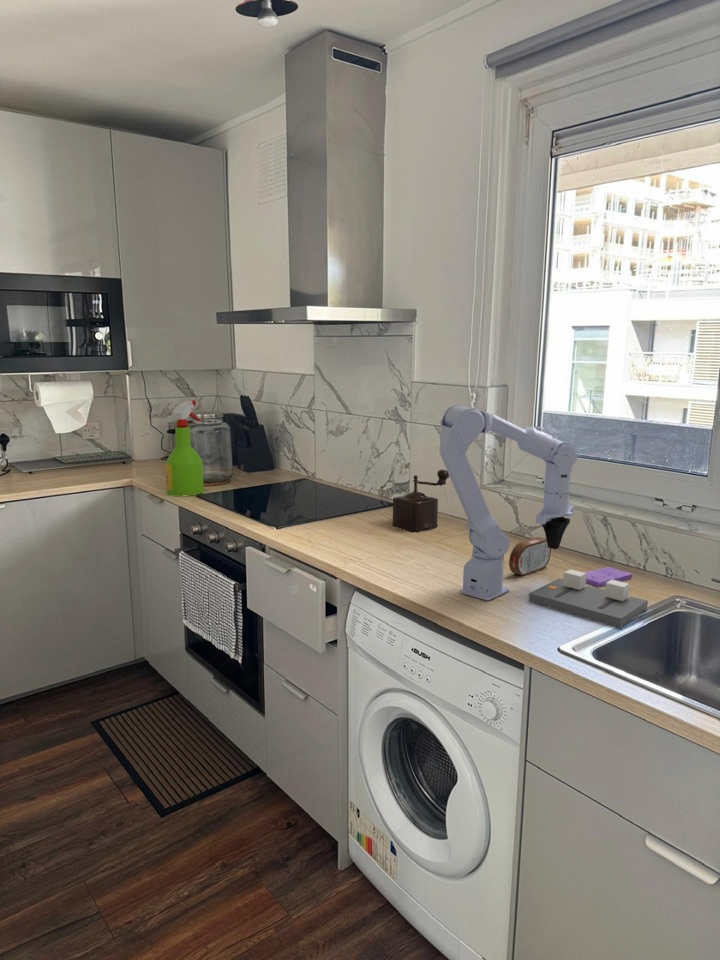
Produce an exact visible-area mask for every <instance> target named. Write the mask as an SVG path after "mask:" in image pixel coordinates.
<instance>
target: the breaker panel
mask: <svg viewBox="0 0 720 960" xmlns="http://www.w3.org/2000/svg"><path fill="white" fill-rule="evenodd" d="M563 579H564V578H561V577H560V578H556V579H555V580H553V581H551V582H549V583H547V584H544V585H543V586H541V587H539V588H537V589H535V590H533V591H531V592H529V593H528V602H529V603H532V604H536V605H538V606H543V607H547V608H550V609H554V610H557V611H560V612H563V613H568V614H572V615H575V616H578V617H581V618H584V619H588V620H591V621H595V622H600V623H602V624H606V625H610V626H612V625H614V626H613V627H616V628H619V629H621V628H622V627H623V626H625V625H626V624H628V623H629V622H631V621H633V620H634V619H636V617H638V616H640V615H641V614H642V613H644V612H645V611H647V610H648V603H649V601H648V600H646V599H643V598H638V597H635V596H631V595H629V596H628V598H627V599H625V600H624V601H620V600H616V599H612V598H608V597H605V589H604V588H603V589H602V588H601V587H597V586H593V585H589V584H588V585H587V584H586V586H585V587H584V588H582V589H580V590H578V589H574V588H570V587H566V586H563ZM646 609H647V610H646ZM643 611H644V612H643ZM639 614H640V615H639Z"/></svg>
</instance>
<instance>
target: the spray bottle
mask: <svg viewBox="0 0 720 960" xmlns="http://www.w3.org/2000/svg"><path fill="white" fill-rule="evenodd" d="M196 405H197V401H196V400H194V399H191V400H187V401H186V400H185V401H184V402H181V403H179V404H177V405H176V407H174V409H173V411H172V412H171V413H172V414H176V426H175V428H174V429H175V447H174V448H173V450H172V451H171V452H170V453H169V456H168V457H167V459H166V461H165V472H166V473H165V474H166V489H167V490H166V491H167V493H168V494H169V495H168V494H167V495H168V496H170V495H175V496H174V497H177V495H179V496H183V495H194V494H199V493H202V494H204V493H203V492H204V491H205V489H204V466H203V461H204V460H203V459H202V458H201V456H200V454H199V453H198V452H197V451H196V450H195V449H194V448H193V447H192V444H191V431H190V430H191V428H190V426H189V422H188V420H187V419H188V418H189V417H190V418H192V419H194V420H195V421H196V422H203V420H201V419H200V418H199V417H198V416H197V415H195V414H194V408H195V406H196Z"/></svg>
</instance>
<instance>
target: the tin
mask: <svg viewBox="0 0 720 960" xmlns="http://www.w3.org/2000/svg"><path fill="white" fill-rule="evenodd" d="M551 554H552V548H548V544H547V539H546V538H543V537H540V536H537V537H532V538H530V539H526V540H522V541H519V542H518V543H517V544H515V546H514V547H513V548H512V550H511V552H510V555H509V559H508V565H509V570H510V571H511V573H514V574H516V575H520V576H526V575H527V576H528V575H530V574H533V573H535V572H538V571H541V570H543V569H544V568H546V566H548V563H549V561H550V560H551V559H550V558H551Z"/></svg>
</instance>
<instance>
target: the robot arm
mask: <svg viewBox="0 0 720 960" xmlns="http://www.w3.org/2000/svg"><path fill="white" fill-rule="evenodd" d="M439 424H440V430H441V432H440V439H439V442H440V443H439V455H440V457H441V460H442V462H443V465H444V467H445V469H446V471H448V474H449V478H450V481H451V483H452V485H453V487H454V489H455V491H456V494H457V497H458V499H459V501H460V503H461V505H462V509H463V510H464V513H465V514H466V516H467V519H468V520H467V523H466V526H467V528H468V540H469V542H470V543H471V545H472V546H473V547H472V554H471V558H470V559H469V560H468V561H467V562H466V563H465V564H464V566H463V573H462V575H463V576H462V577H463V578H462V589H459V593H461V594H464V595H467V596H471V597H474V598H476V599H477V598H478V599H481V600H483V601H491V600H493V599H495V598H498V597H499V596H502V595H503V594H504V595H505V594H506V593H508V592H510V591H511V589H510V588H509V587H505V586H503V584H504V561H505V555H506V554H507V552H508V551H509V548H510V546H511V545H510V544H511V543H510V538H509V537H508V535H507V534H506V533H505V532H504V531H503V530H501V527H500V525H499V523H498V522H497V521H496V519H495V518H494V516H492V514H491V512H490V510H489V507H488V505H487V502H486V500H485V498H484V495H483V493H482V491H481V489H480V486H479V483H478V481H477V479H476V476H475V474H474V472H473V469H472V467H471V464H470V462H469V460H468V457H467V455H466V453H467V451H468V449H469V447H470V446H471V444H472V443H474V441H475V440H476V439H477V438H478V437H479V436H480V434H482V433H483V434H487V433H490V432H493V433H495V434H498V435H500V436H502V437H504V438H507V439H510V440H512V441H514V442H516V443H517V445H518V446H517V447H518V448H519V450H520V451H523V452H525V453H528V454H529V455H531V456H534V457H536V458H538V459H540V460H543V461H544V462H545V472H544V489H543V503H542V504H543V507H542V509H541V511H540V512H539V513H538V514H536V516H535V523H536V524H541V526H542V528H543V531H544V534H545V539H546V540H547V544H548V548H551V550H558V549H559V548H560V545H561V542H562V539H563V535H564V534H565V531H566V529H567V528H568V526H569V524H570V523H571V519H570V518H568V517H572V516H573V515H574V511H575V505H571V504H570V490H571V480H572V479H571V477H572V476H571V475H572V471H573V466H574V464H575V463H576V461H577V459H578V455H579V454H578V453H576V447H574V445H573V444H571V443H570V442H566V441H562V440H559V438H560V437H559V436H558V435H555V434H553V435H551V434H548V433H546V432H544V431H543V428H541V427H540V426H535V425H534V426H528V427H525V428H521V427H520V426H518V425H515V424H514V423H512V422H509V421H508V420H506V419H504V418H501V417H500V416H498V415H496V414H494V413H489V412H486V411H482V410H479V409H477V408H472V407H465V406H463V405H460V404H454V405H451V406H450V407H448V408H447V409H446V410H445V411H444V414H443V415H442V418H441V419H440V422H439Z"/></svg>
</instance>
